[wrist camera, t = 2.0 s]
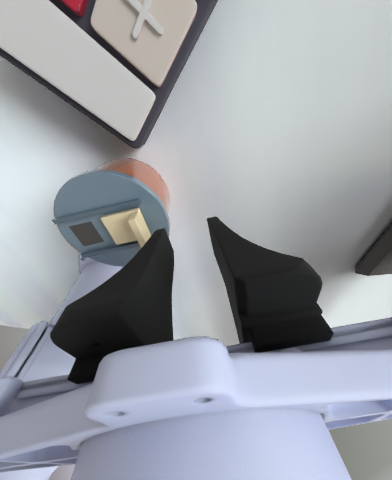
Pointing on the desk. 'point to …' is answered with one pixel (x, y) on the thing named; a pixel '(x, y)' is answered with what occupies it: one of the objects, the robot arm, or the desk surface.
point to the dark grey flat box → (105, 54)
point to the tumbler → (110, 207)
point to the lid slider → (127, 226)
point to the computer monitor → (378, 257)
